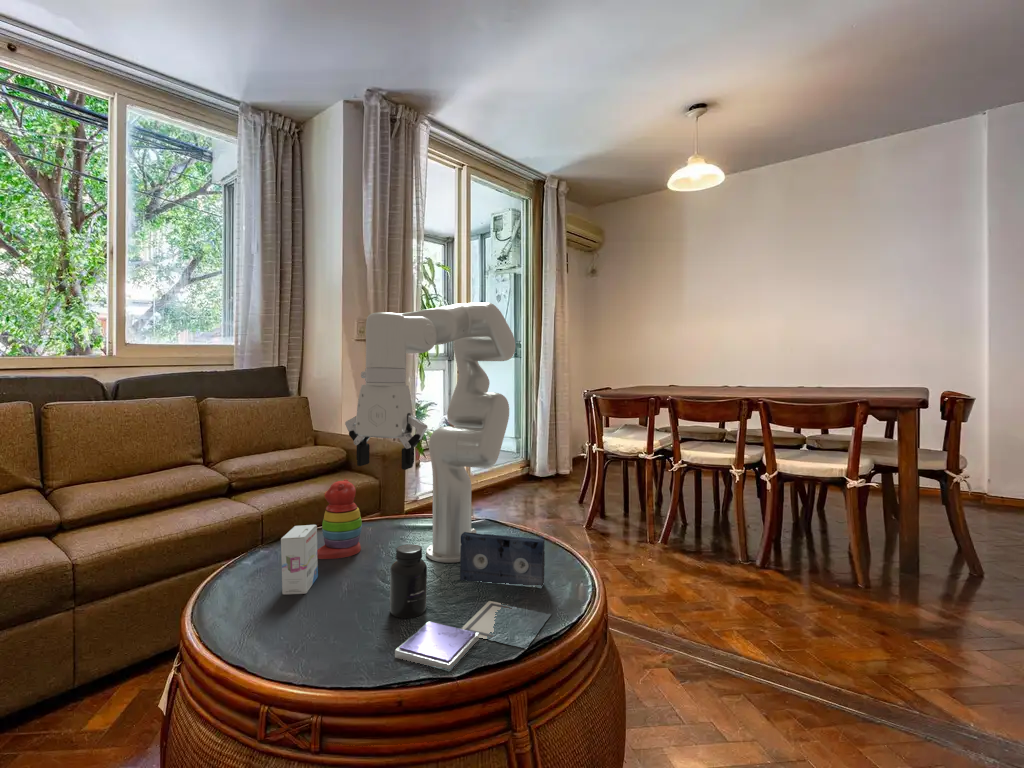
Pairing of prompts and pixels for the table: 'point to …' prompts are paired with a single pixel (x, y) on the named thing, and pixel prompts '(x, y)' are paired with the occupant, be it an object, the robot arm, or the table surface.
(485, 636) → the marked card
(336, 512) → the stacking bear
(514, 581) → the vhs cassette tape
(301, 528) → the ink box
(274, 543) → the table surface
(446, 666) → the ink pad
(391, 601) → the supplement bottle
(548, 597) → the table surface
